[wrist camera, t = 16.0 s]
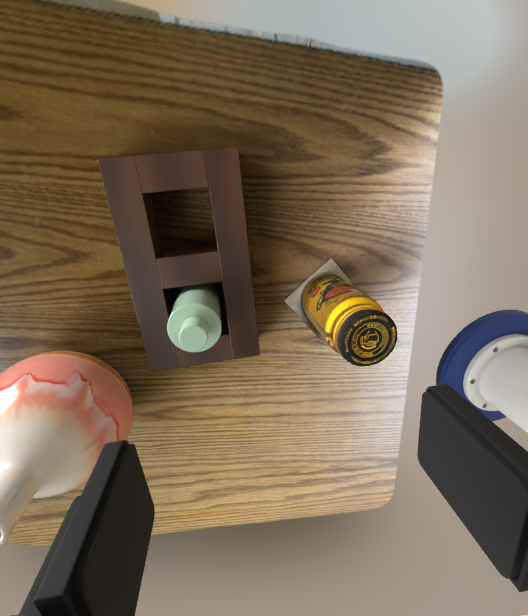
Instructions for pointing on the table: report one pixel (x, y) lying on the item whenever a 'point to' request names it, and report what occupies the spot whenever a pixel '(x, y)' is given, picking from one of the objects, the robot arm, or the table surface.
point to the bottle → (195, 318)
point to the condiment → (344, 316)
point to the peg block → (183, 262)
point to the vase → (55, 426)
